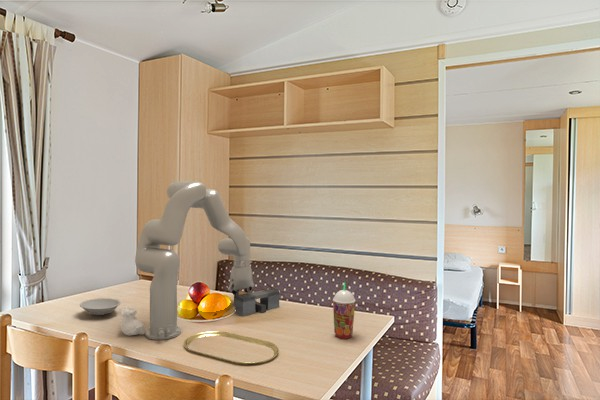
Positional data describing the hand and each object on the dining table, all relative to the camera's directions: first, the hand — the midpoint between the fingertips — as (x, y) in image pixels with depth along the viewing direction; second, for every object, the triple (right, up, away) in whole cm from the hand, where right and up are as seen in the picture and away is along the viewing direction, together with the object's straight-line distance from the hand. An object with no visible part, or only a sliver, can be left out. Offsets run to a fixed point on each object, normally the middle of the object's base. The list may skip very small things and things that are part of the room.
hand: (241, 302), depth 191 cm
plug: (+5, -1, -5) cm, 7 cm away
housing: (+9, -1, -9) cm, 13 cm away
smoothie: (+44, -3, -39) cm, 59 cm away
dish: (-57, -1, -19) cm, 60 cm away
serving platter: (+4, -4, -52) cm, 52 cm away
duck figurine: (-35, -2, -40) cm, 53 cm away
